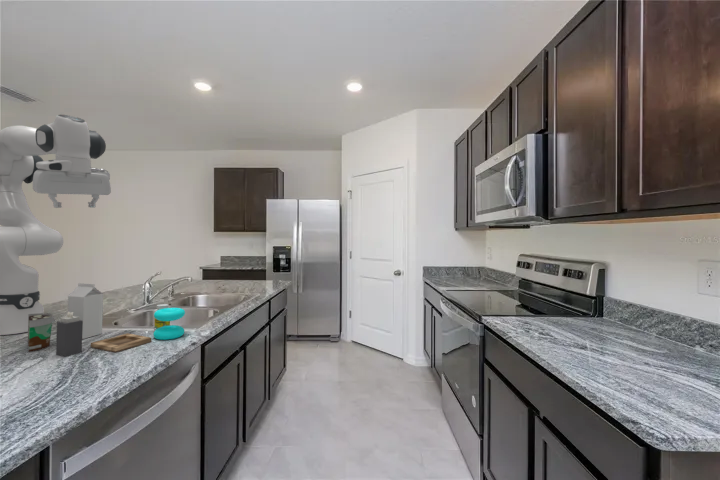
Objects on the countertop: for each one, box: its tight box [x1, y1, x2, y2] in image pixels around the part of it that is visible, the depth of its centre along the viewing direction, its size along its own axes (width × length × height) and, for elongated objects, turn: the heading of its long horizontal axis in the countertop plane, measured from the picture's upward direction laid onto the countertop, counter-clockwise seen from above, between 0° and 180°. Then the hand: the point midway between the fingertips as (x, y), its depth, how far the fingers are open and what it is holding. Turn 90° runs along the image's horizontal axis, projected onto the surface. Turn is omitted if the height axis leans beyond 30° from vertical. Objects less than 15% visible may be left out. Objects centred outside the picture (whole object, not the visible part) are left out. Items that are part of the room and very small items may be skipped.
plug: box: [55, 311, 83, 357], centre depth 101 cm, size 4×4×13 cm
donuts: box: [152, 307, 186, 341], centre depth 121 cm, size 10×10×10 cm
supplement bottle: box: [153, 303, 171, 331], centre depth 130 cm, size 5×5×10 cm
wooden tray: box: [90, 332, 152, 354], centre depth 110 cm, size 12×12×2 cm
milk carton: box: [67, 282, 104, 340], centre depth 118 cm, size 7×7×19 cm
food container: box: [27, 312, 56, 353], centre depth 107 cm, size 12×6×10 cm, turn 47°
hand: (75, 207), depth 111 cm, fingers open, 8 cm apart
